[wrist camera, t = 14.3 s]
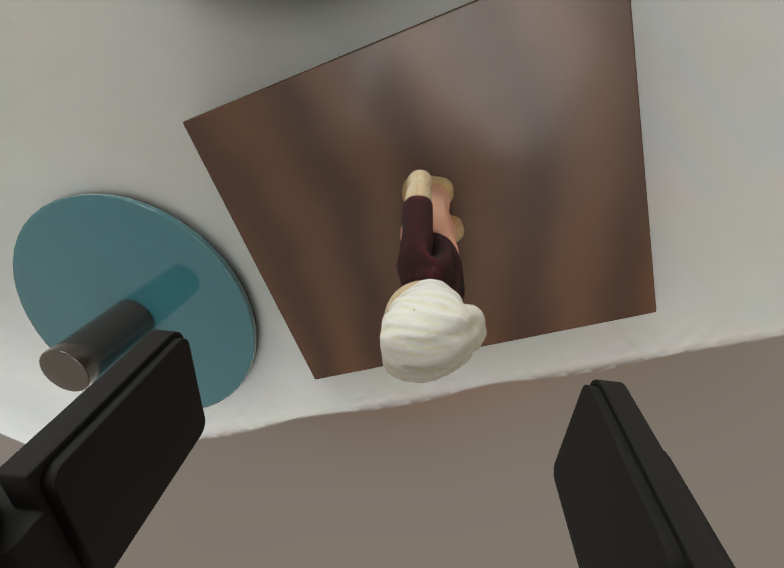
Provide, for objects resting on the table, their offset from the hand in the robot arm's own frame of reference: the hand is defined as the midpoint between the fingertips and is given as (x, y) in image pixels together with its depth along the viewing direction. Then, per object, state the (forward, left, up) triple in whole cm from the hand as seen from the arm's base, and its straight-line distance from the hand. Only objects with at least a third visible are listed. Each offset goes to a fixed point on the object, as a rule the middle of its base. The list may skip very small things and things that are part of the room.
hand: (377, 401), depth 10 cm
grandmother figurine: (+1, 0, -15) cm, 15 cm away
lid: (-19, -10, -15) cm, 27 cm away
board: (+1, 0, -16) cm, 16 cm away
